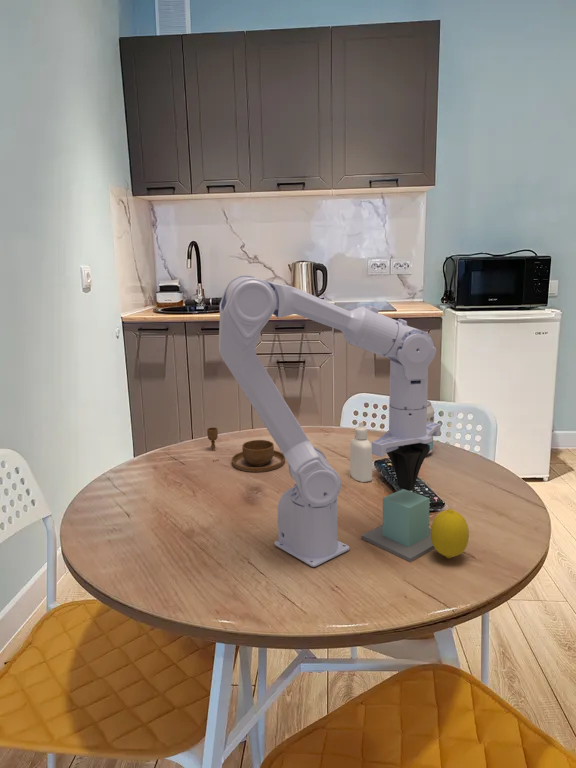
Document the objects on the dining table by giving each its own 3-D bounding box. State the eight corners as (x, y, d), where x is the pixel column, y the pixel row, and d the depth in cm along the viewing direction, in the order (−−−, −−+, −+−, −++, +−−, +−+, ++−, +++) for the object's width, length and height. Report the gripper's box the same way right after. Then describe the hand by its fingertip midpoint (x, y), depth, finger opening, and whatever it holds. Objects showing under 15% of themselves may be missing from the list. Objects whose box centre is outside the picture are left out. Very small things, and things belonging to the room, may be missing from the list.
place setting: (227, 481, 121) (226, 454, 120) (204, 451, 139) (202, 428, 138) (304, 468, 127) (303, 442, 126) (272, 441, 145) (271, 419, 144)
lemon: (439, 545, 92) (441, 498, 90) (473, 556, 88) (476, 507, 87) (423, 559, 88) (425, 511, 86) (458, 571, 84) (460, 521, 82)
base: (361, 538, 95) (361, 535, 94) (400, 519, 101) (400, 516, 101) (410, 562, 87) (410, 558, 87) (449, 539, 93) (449, 536, 93)
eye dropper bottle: (370, 472, 122) (371, 418, 119) (372, 483, 117) (372, 426, 114) (350, 472, 123) (350, 418, 120) (350, 482, 117) (350, 426, 114)
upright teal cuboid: (382, 535, 94) (382, 497, 93) (402, 525, 97) (403, 488, 96) (408, 547, 90) (409, 508, 89) (428, 536, 94) (429, 498, 92)
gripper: (398, 420, 81) (396, 509, 84) (458, 401, 90) (454, 482, 94) (361, 410, 87) (360, 495, 90) (421, 393, 96) (418, 470, 99)
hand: (406, 487), depth 92 cm, fingers closed
